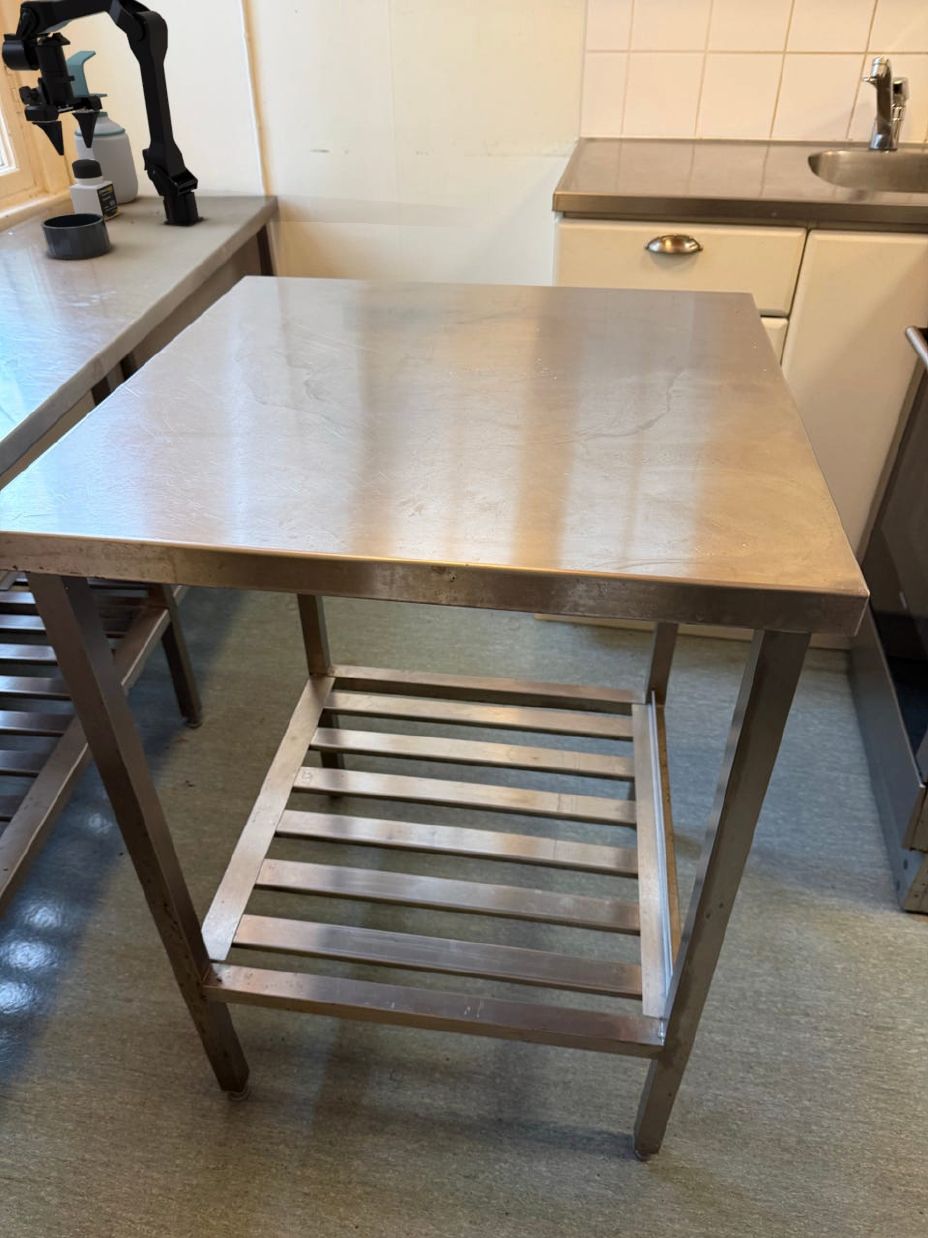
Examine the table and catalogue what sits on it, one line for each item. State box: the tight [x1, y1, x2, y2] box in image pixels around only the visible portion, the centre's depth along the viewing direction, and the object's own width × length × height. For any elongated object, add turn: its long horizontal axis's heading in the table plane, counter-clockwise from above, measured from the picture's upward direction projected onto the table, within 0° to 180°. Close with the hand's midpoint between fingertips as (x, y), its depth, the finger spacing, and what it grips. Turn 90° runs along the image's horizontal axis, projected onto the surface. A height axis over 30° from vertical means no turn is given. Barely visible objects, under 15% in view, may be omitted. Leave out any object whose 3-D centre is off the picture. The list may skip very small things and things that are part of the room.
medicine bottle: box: [68, 159, 120, 222], centre depth 204 cm, size 7×7×12 cm
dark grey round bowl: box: [40, 213, 112, 261], centre depth 183 cm, size 12×12×6 cm
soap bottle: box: [66, 50, 139, 205], centre depth 212 cm, size 12×12×31 cm
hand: (75, 151), depth 201 cm, fingers open, 9 cm apart
